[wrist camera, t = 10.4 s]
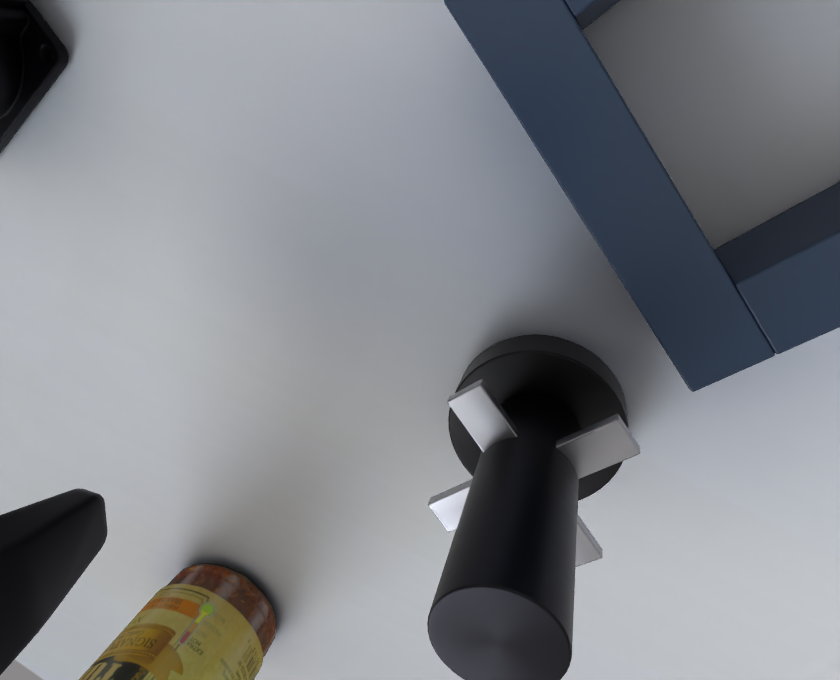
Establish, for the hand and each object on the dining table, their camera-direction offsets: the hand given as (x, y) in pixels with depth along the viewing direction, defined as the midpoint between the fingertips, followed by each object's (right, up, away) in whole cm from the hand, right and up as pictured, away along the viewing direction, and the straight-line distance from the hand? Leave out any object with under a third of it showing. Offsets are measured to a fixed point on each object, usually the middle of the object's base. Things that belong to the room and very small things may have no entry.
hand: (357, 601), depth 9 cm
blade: (+5, +1, +12) cm, 13 cm away
